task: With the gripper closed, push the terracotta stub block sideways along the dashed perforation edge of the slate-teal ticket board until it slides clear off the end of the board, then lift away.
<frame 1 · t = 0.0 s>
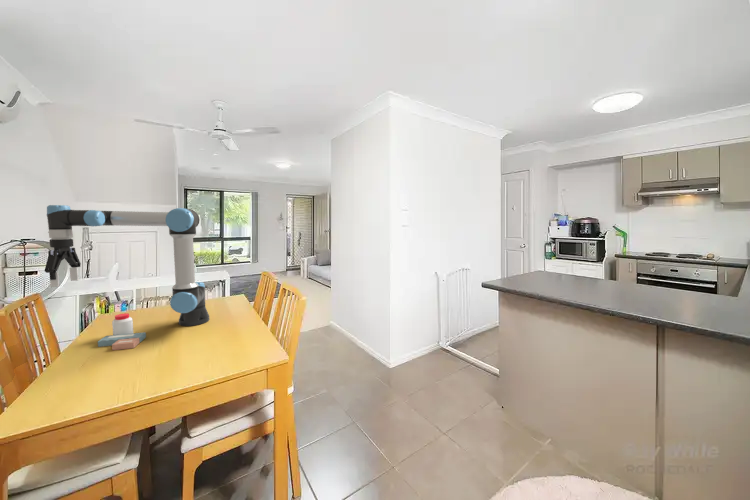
hand: (65, 283, 138), 28 cm above the table, fingers open, 13 cm apart
pill bottle: (123, 336, 147), on the table
ticket: (123, 341, 141), on the table
stub: (126, 343, 135), point 1 cm above the table, slide at 0.0 cm
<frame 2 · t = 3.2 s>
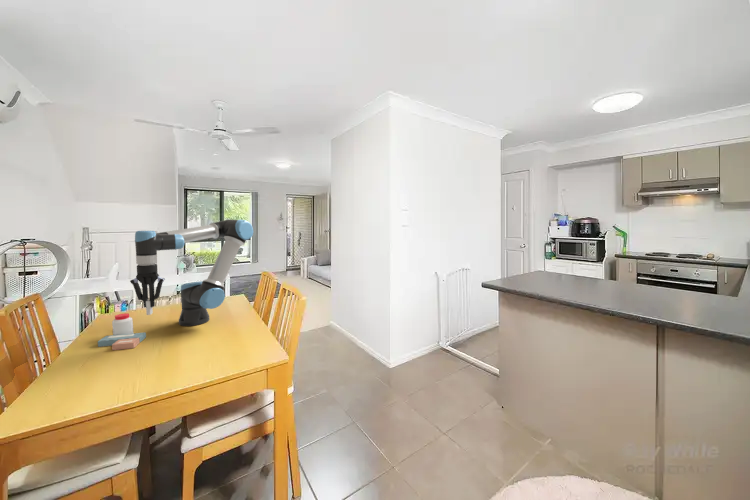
hand: (149, 313, 137), 15 cm above the table, fingers closed
nothing on the table moved.
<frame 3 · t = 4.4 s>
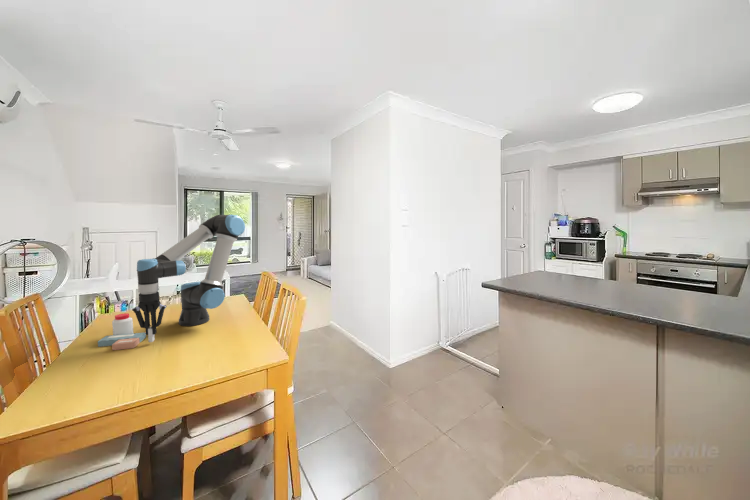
hand: (151, 340, 138), 2 cm above the table, fingers closed
nothing on the table moved.
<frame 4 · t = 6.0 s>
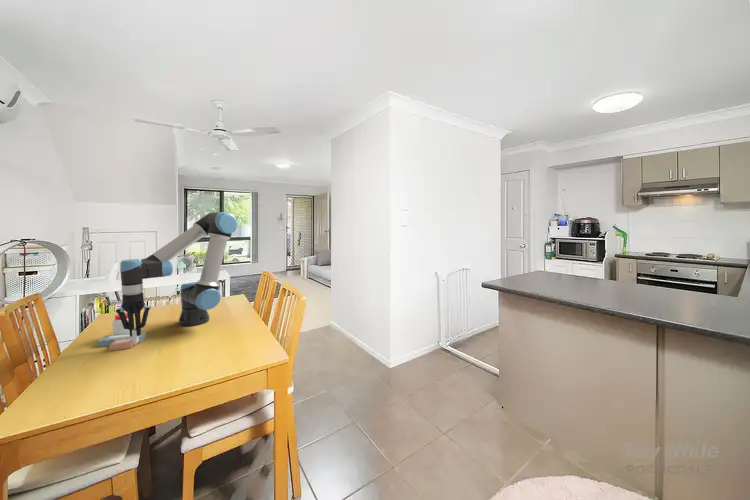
hand: (135, 342, 136), 2 cm above the table, fingers closed
stub: (123, 343, 135), point 1 cm above the table, slide at 0.9 cm, touching gripper
everything else where it was.
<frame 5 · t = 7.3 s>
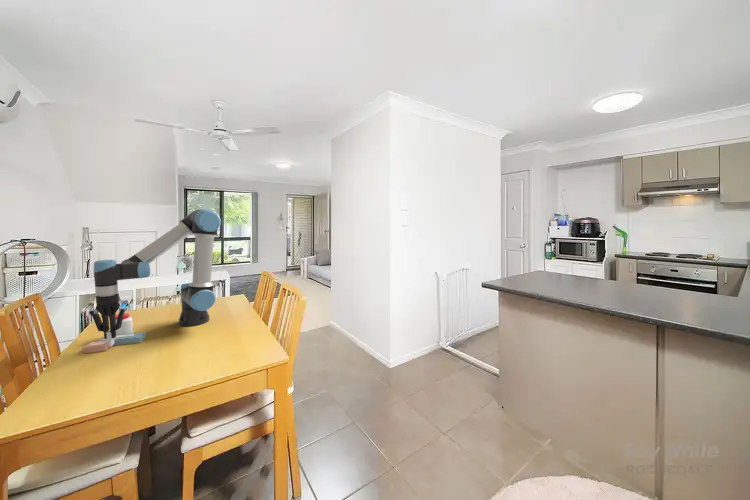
hand: (110, 344, 133), 2 cm above the table, fingers closed
stub: (98, 346, 132), point 1 cm above the table, slide at 10.4 cm, touching gripper
everything else where it was.
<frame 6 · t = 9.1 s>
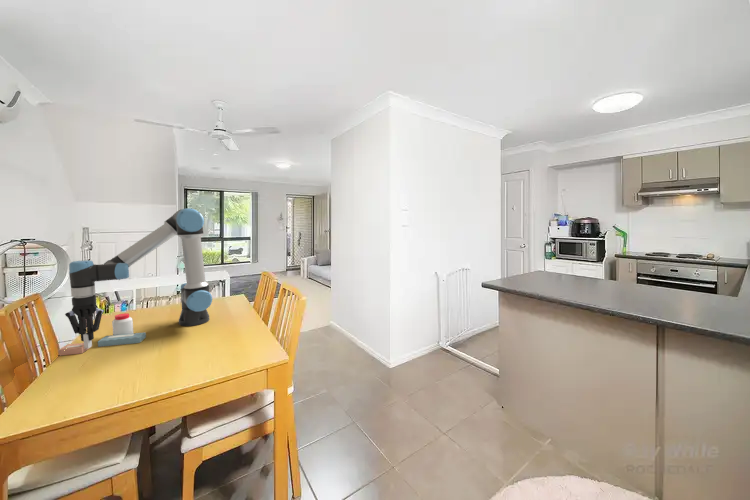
hand: (88, 347, 131), 1 cm above the table, fingers closed
stub: (74, 348, 129), point 1 cm above the table, slide at 18.7 cm, touching gripper
everything else where it was.
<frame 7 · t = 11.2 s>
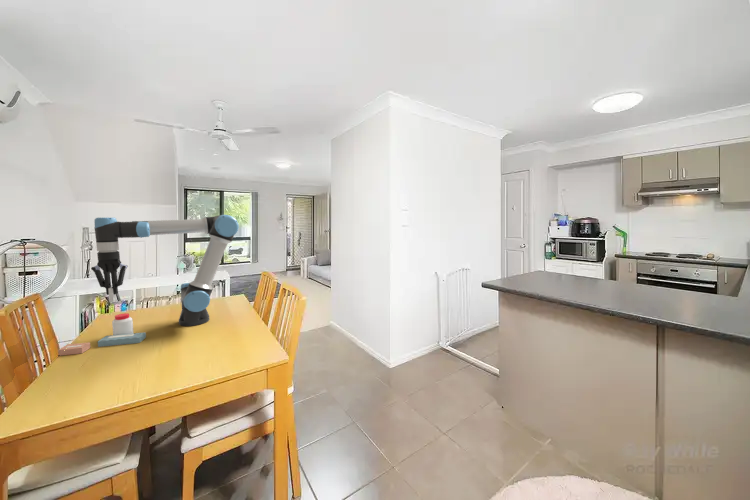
hand: (113, 301, 137), 20 cm above the table, fingers closed
stub: (74, 348, 129), point 1 cm above the table, slide at 18.7 cm
everything else where it was.
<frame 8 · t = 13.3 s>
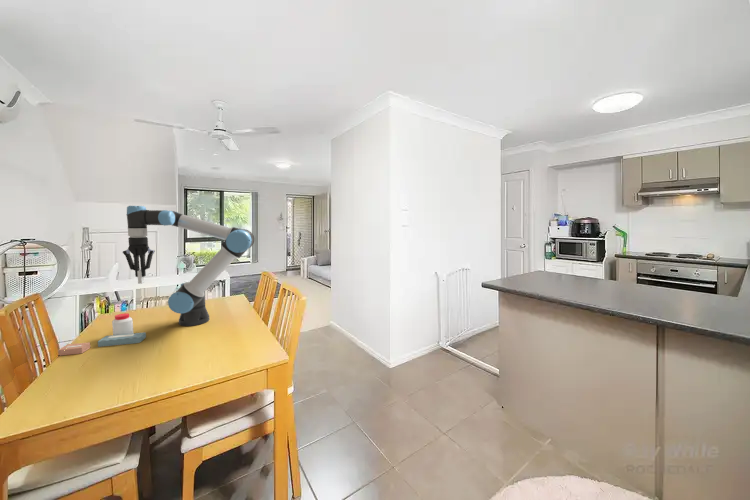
hand: (141, 282, 149), 26 cm above the table, fingers closed
nothing on the table moved.
at the end: stub slide at 18.7 cm; stub touching nothing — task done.
